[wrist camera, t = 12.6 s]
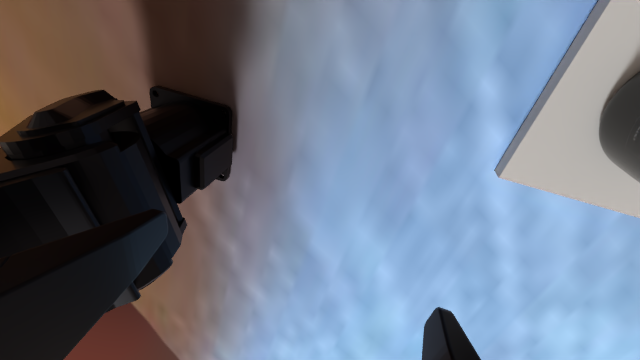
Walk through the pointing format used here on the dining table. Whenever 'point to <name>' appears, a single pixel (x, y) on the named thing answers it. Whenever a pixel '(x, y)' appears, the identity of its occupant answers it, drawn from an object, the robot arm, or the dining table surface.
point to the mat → (581, 115)
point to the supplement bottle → (623, 128)
